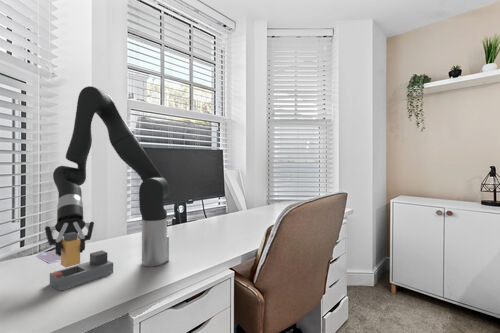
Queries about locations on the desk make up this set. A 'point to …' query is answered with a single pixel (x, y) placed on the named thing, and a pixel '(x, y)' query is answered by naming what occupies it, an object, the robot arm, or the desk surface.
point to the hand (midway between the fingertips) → (70, 252)
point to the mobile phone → (49, 256)
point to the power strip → (82, 271)
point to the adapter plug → (70, 250)
